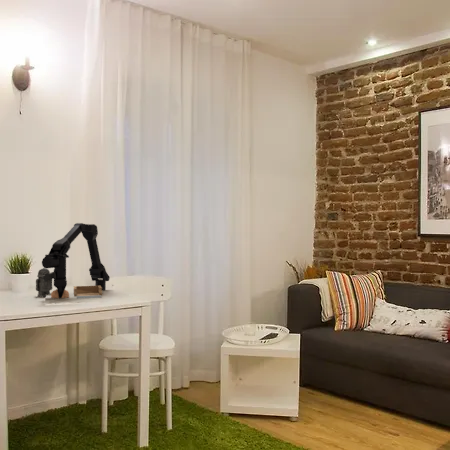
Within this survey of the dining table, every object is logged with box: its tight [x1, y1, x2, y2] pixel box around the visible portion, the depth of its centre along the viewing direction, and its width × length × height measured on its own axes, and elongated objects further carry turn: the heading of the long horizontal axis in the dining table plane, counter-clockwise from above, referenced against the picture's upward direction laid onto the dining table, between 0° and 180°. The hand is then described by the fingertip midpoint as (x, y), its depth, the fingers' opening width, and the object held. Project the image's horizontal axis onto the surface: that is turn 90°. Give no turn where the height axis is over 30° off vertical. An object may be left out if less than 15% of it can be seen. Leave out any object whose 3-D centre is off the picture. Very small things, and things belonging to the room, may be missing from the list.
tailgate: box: [75, 295, 102, 299], centre depth 270 cm, size 1×12×8 cm
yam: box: [50, 288, 70, 299], centre depth 268 cm, size 9×5×5 cm, turn 108°
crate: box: [73, 285, 103, 297], centre depth 280 cm, size 11×14×5 cm
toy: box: [35, 267, 53, 298], centre depth 280 cm, size 8×6×15 cm
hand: (60, 297), depth 268 cm, fingers closed on yam, 5 cm apart
